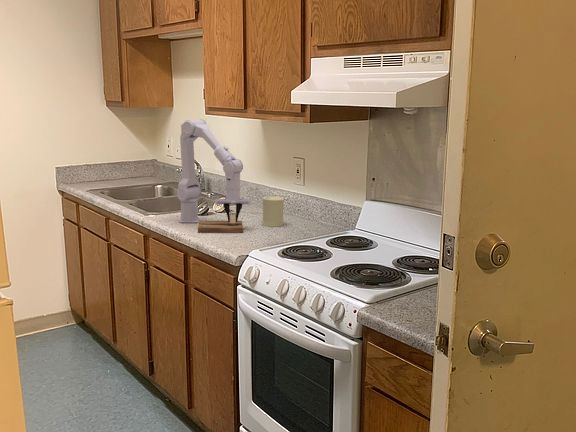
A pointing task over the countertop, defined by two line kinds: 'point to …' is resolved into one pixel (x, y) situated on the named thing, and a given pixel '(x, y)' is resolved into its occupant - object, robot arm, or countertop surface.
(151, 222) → the countertop surface
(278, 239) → the countertop surface
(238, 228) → the board
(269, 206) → the can
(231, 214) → the fader
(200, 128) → the robot arm
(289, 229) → the countertop surface
